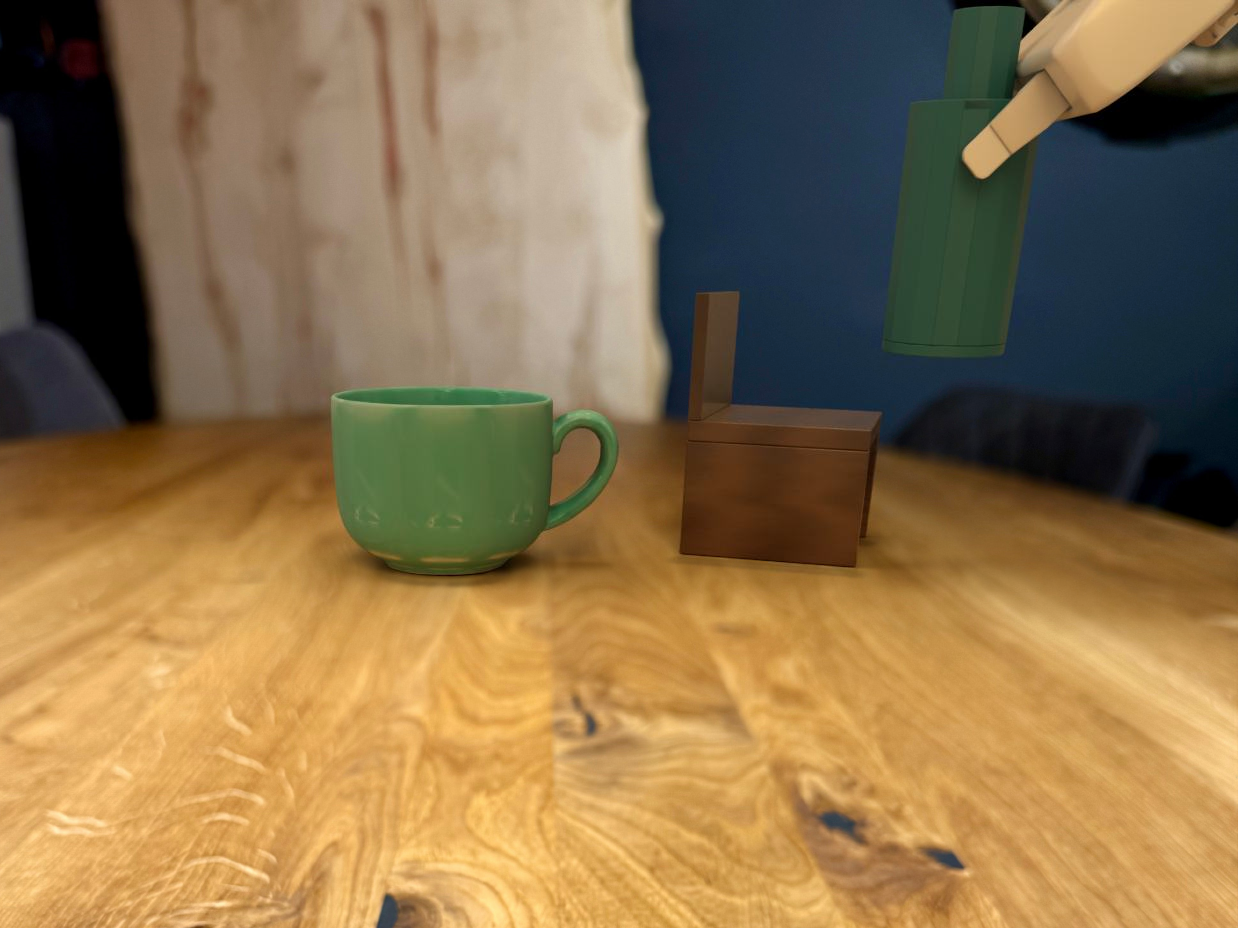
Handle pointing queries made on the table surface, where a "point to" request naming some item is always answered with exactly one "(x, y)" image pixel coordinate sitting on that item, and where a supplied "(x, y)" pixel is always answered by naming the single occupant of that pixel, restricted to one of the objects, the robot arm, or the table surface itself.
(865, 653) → the table surface
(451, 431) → the mug
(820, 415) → the wooden toy chair
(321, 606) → the table surface
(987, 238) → the bottle
